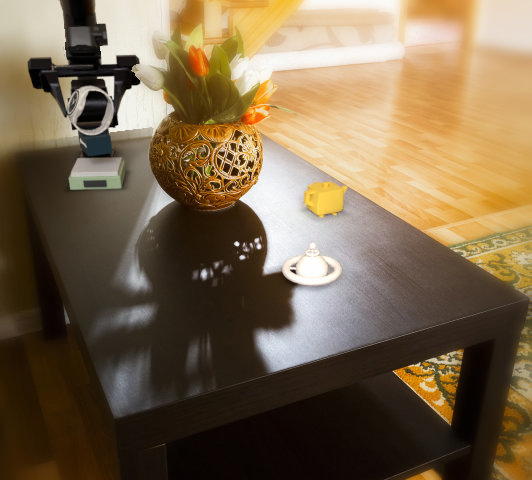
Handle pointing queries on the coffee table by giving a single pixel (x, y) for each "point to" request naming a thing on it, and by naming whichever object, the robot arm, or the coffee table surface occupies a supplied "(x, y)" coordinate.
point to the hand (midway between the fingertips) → (90, 115)
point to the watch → (95, 138)
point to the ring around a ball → (311, 268)
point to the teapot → (324, 198)
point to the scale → (97, 173)
